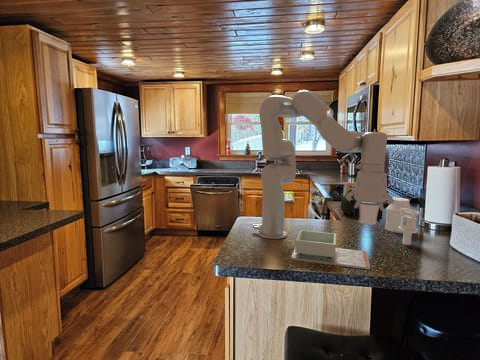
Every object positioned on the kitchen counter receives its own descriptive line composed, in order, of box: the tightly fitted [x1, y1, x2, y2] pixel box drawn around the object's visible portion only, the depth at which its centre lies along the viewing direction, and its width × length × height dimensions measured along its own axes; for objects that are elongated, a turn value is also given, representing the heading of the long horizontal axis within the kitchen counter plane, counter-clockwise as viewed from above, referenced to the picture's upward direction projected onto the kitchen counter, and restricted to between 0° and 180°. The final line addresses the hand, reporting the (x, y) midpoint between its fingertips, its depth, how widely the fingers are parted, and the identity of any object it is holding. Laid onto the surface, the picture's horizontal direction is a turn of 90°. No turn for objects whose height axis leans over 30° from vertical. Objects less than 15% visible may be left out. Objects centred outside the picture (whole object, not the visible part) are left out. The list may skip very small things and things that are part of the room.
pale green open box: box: [294, 229, 337, 259], centre depth 116 cm, size 14×14×6 cm
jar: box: [384, 197, 413, 234], centre depth 150 cm, size 12×10×15 cm
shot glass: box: [358, 202, 379, 226], centre depth 109 cm, size 7×7×7 cm
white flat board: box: [290, 247, 371, 271], centre depth 115 cm, size 26×16×1 cm, turn 73°
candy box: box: [342, 181, 356, 198], centre depth 204 cm, size 9×4×15 cm, turn 103°
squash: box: [340, 190, 356, 216], centre depth 181 cm, size 14×15×15 cm
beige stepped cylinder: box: [398, 208, 420, 246], centre depth 129 cm, size 7×7×15 cm
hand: (367, 219), depth 109 cm, fingers closed on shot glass, 6 cm apart
